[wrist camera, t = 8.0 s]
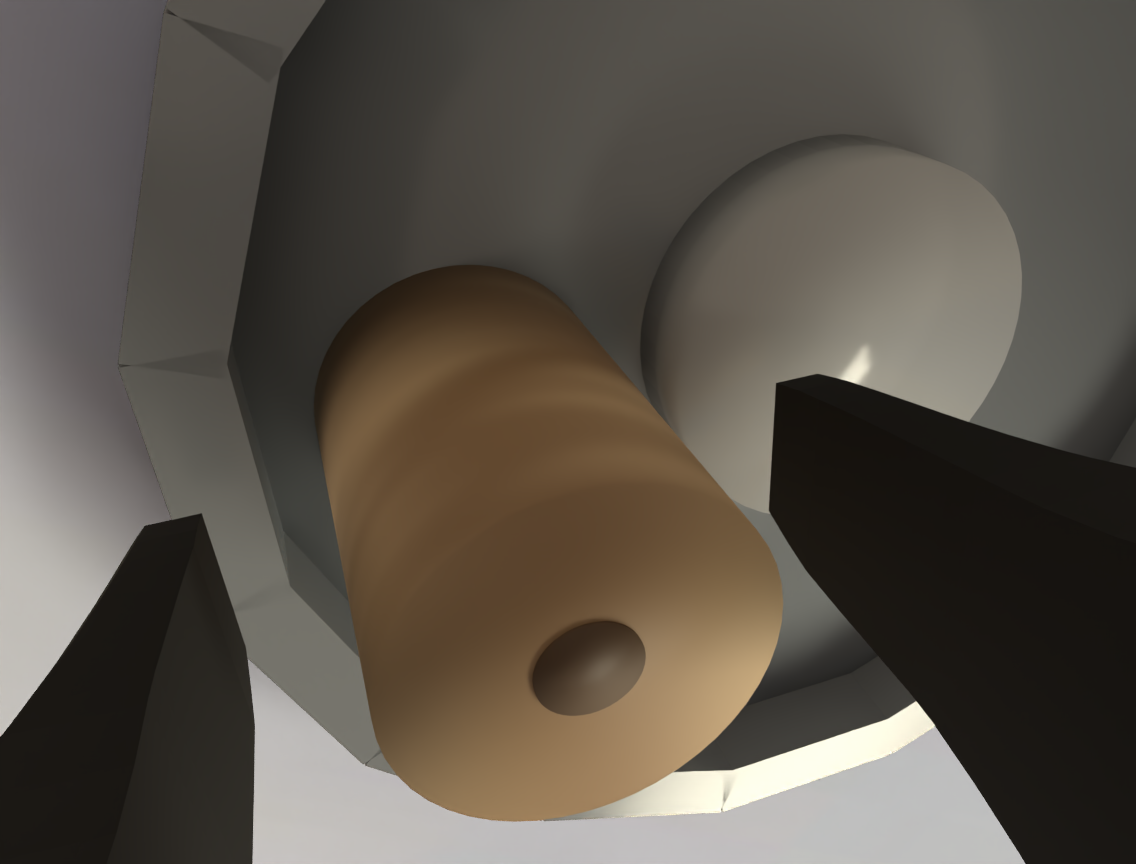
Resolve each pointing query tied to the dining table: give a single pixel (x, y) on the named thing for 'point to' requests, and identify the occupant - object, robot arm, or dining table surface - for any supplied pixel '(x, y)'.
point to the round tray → (633, 269)
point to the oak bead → (529, 553)
